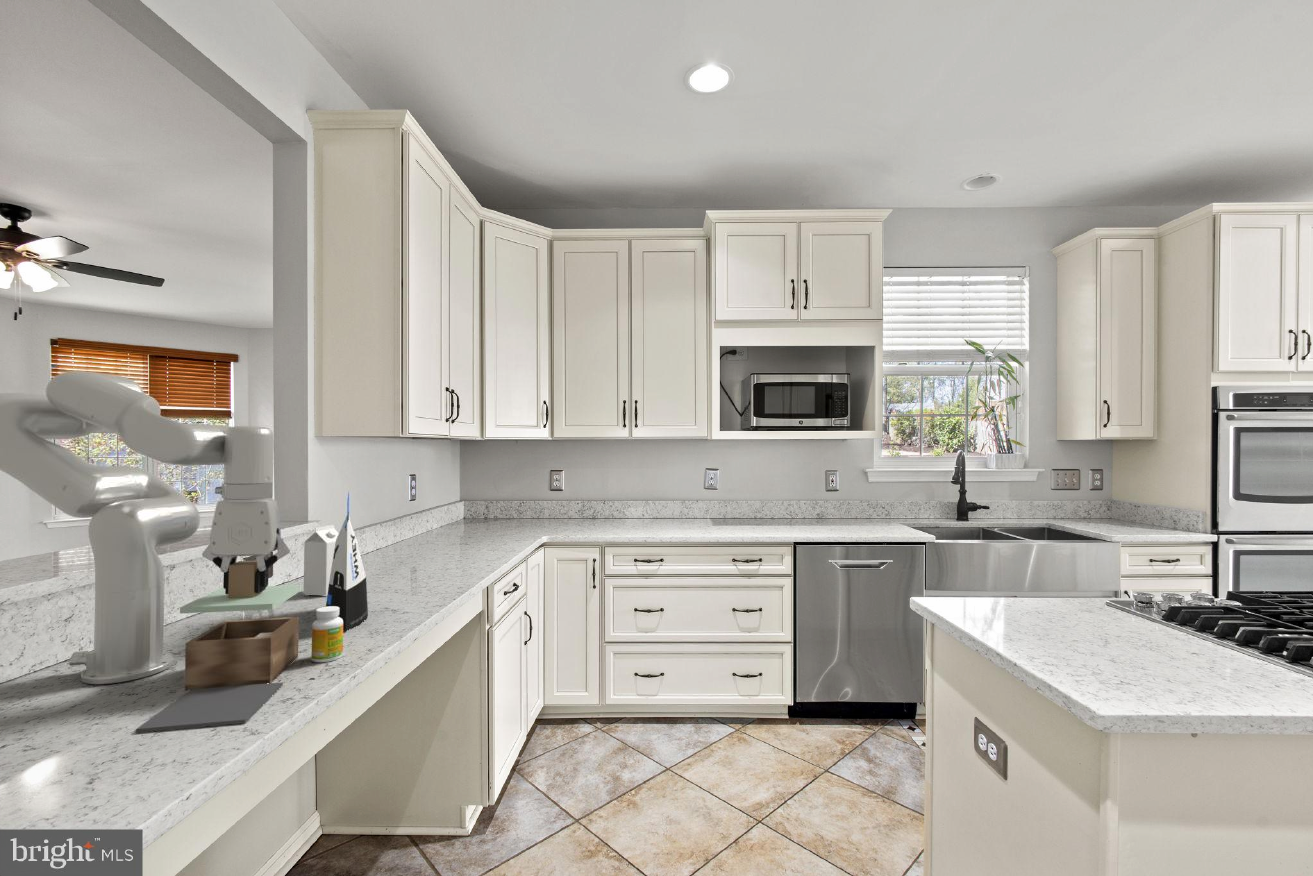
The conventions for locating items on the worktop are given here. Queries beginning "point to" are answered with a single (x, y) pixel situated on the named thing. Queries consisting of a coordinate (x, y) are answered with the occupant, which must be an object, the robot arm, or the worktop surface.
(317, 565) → the milk carton
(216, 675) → the storage box
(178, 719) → the rubber mat
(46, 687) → the worktop surface
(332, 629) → the supplement bottle
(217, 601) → the lid
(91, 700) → the worktop surface
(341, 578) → the protein powder
